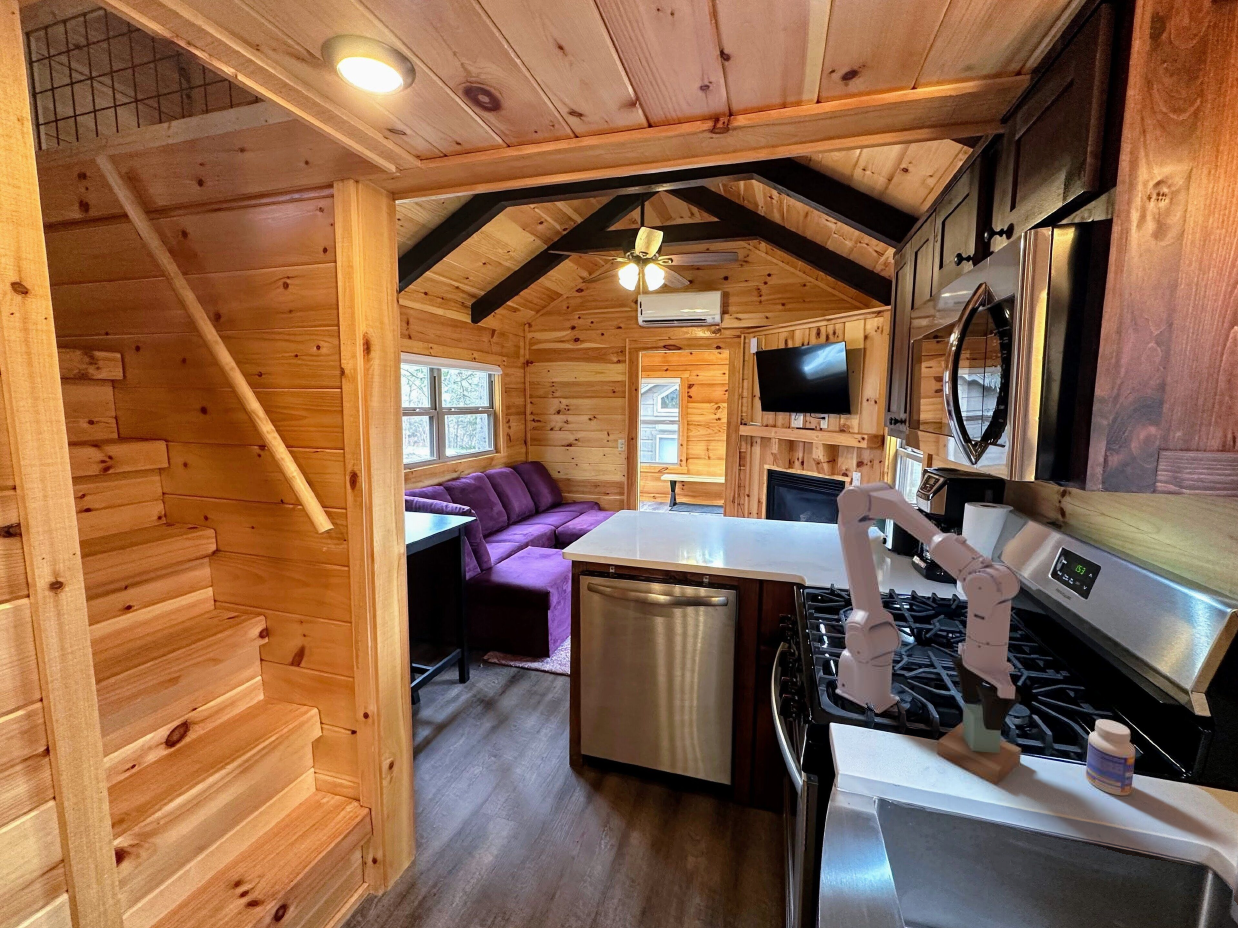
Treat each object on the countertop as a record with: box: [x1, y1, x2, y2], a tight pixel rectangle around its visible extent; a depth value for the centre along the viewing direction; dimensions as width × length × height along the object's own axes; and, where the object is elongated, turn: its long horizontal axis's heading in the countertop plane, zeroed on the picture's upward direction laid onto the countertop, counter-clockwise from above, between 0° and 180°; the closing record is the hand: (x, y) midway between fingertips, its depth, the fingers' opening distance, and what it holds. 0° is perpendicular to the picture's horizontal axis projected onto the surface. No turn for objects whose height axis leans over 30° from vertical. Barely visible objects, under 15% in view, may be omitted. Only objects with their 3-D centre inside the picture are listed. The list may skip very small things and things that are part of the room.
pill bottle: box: [1085, 718, 1136, 796], centre depth 84 cm, size 5×5×10 cm
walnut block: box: [936, 721, 1022, 786], centre depth 90 cm, size 9×9×3 cm
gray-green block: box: [962, 703, 1002, 753], centre depth 90 cm, size 4×4×6 cm
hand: (980, 714), depth 90 cm, fingers open, 7 cm apart
